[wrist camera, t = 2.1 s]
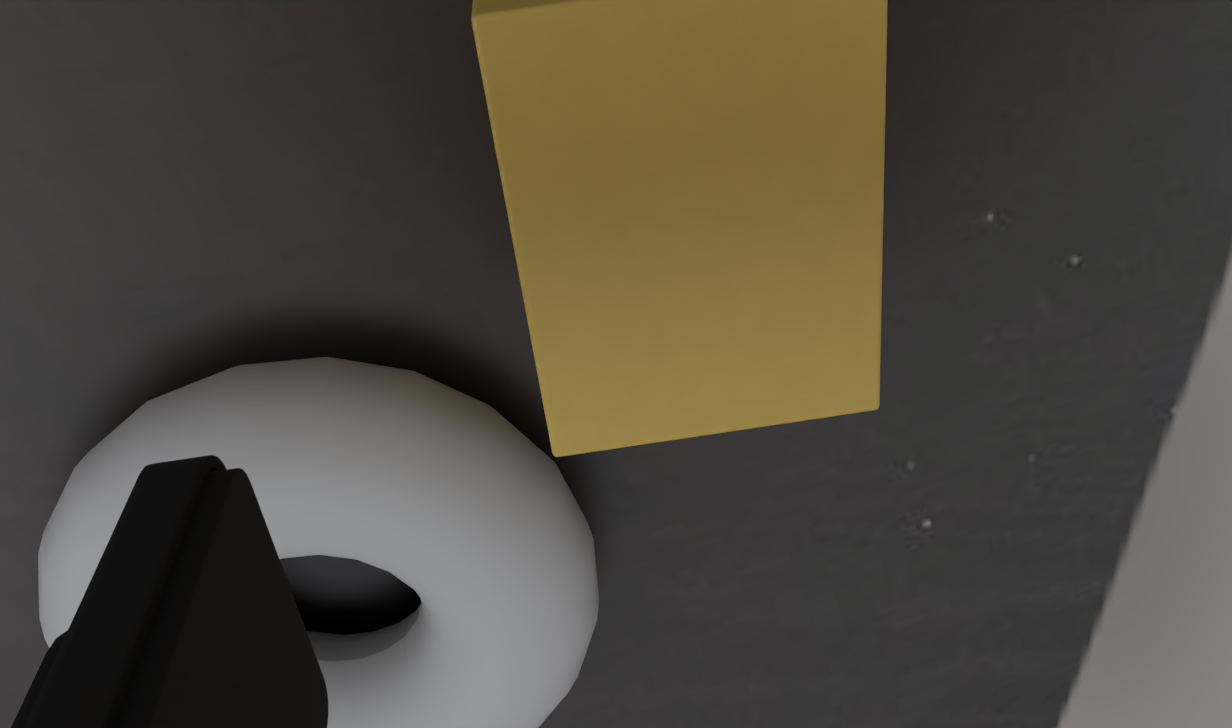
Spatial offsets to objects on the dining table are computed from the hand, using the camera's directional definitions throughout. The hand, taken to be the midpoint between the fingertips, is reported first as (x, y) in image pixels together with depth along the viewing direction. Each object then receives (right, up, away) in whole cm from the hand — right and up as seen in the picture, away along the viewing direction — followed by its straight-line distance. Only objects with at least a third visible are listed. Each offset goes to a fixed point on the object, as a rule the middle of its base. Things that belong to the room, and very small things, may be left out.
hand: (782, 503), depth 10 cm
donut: (-7, -2, +12) cm, 14 cm away
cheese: (-1, +6, +8) cm, 9 cm away
